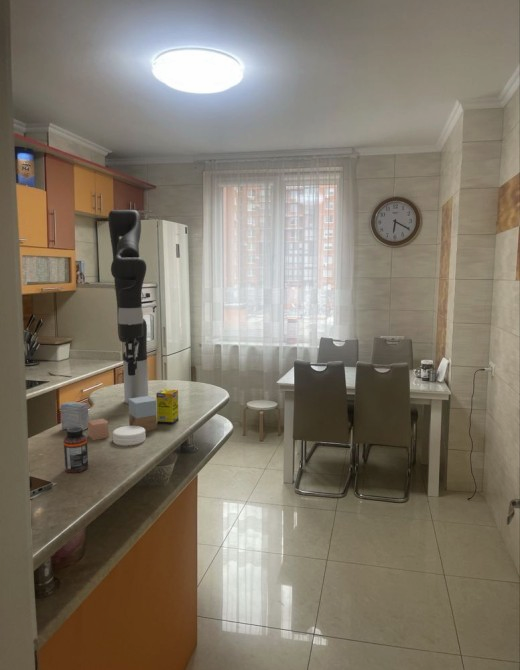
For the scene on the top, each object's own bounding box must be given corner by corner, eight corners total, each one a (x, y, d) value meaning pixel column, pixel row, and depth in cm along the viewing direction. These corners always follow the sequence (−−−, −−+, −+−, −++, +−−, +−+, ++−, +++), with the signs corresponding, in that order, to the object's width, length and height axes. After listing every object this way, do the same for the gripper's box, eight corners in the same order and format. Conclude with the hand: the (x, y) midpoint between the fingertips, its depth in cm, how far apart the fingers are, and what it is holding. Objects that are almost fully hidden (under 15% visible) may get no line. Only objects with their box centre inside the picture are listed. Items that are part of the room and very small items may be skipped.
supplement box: (173, 424, 182) (172, 393, 180) (156, 423, 183) (155, 392, 181) (179, 419, 188) (178, 389, 186) (163, 418, 189) (162, 388, 187)
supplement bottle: (68, 465, 146) (66, 425, 145) (90, 464, 147) (88, 425, 145) (62, 473, 141) (60, 433, 139) (85, 473, 141) (83, 432, 139)
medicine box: (89, 428, 178) (88, 403, 177) (81, 432, 174) (80, 406, 173) (70, 425, 181) (69, 401, 180) (61, 429, 177) (60, 404, 175)
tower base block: (129, 427, 179) (128, 413, 178) (149, 423, 183) (148, 409, 182) (136, 433, 173) (136, 418, 173) (156, 429, 177) (156, 414, 176)
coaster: (106, 443, 164) (105, 432, 163) (126, 433, 173) (126, 423, 172) (132, 448, 160) (132, 437, 159) (152, 438, 169) (151, 427, 168)
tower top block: (129, 413, 178) (128, 398, 178) (148, 409, 182) (148, 395, 182) (136, 418, 173) (135, 403, 172) (156, 414, 177) (156, 400, 176)
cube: (88, 436, 171) (87, 421, 170) (103, 433, 173) (103, 418, 173) (93, 440, 166) (92, 425, 166) (108, 437, 169) (108, 422, 168)
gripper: (120, 319, 172) (122, 368, 175) (116, 324, 158) (118, 377, 161) (144, 318, 173) (145, 367, 176) (141, 324, 160) (143, 376, 162)
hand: (132, 372), depth 168 cm, fingers open, 8 cm apart
